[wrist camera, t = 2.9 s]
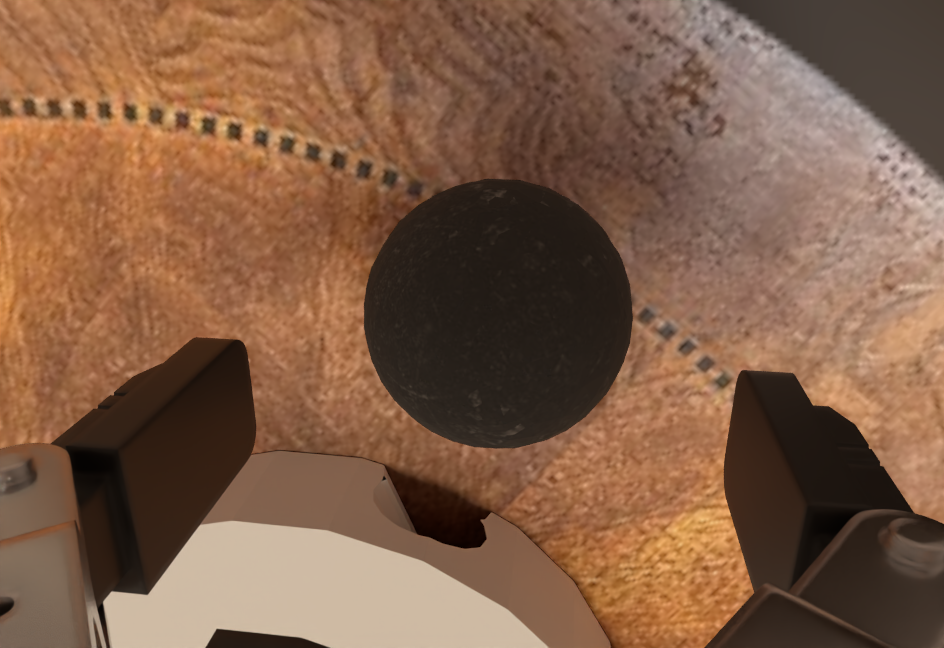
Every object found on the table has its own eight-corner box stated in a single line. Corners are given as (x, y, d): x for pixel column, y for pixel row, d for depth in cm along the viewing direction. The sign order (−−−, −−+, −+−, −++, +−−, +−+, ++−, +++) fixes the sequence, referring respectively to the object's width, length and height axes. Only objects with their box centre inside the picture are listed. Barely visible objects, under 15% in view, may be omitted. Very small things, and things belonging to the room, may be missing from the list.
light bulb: (647, 265, 22) (697, 441, 13) (483, 340, 24) (427, 544, 15) (562, 92, 21) (552, 158, 12) (393, 186, 23) (267, 308, 13)
